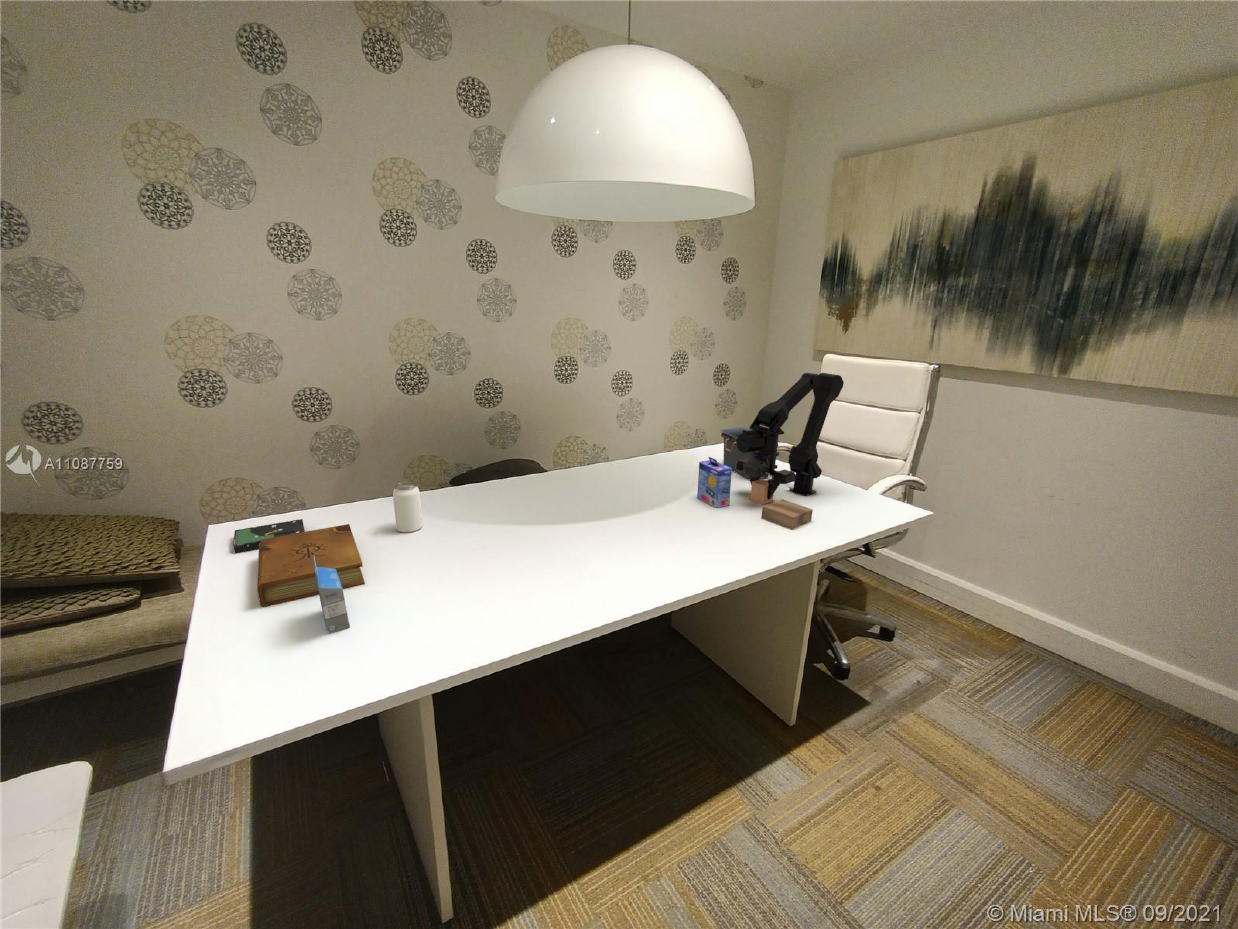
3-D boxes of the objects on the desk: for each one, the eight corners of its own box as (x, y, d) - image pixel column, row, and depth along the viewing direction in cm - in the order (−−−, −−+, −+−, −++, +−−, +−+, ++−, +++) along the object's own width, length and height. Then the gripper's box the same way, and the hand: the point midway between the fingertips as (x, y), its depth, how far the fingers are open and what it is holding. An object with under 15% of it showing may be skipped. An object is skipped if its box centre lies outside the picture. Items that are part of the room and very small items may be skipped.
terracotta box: (759, 496, 172) (761, 478, 171) (772, 501, 169) (775, 483, 167) (750, 499, 169) (752, 481, 168) (763, 504, 166) (765, 486, 164)
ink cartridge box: (695, 498, 169) (698, 454, 165) (709, 495, 172) (712, 452, 168) (715, 508, 161) (719, 462, 157) (729, 505, 164) (734, 460, 160)
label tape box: (350, 628, 99) (342, 569, 96) (325, 635, 97) (316, 574, 93) (343, 605, 106) (335, 549, 103) (320, 611, 104) (311, 554, 100)
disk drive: (303, 528, 142) (235, 539, 134) (302, 518, 141) (233, 529, 133) (307, 542, 133) (234, 556, 126) (305, 532, 133) (232, 545, 125)
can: (427, 528, 142) (423, 485, 139) (403, 535, 138) (399, 491, 134) (415, 521, 146) (411, 479, 143) (392, 528, 142) (387, 485, 138)
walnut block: (780, 511, 161) (782, 499, 160) (810, 522, 154) (812, 509, 153) (761, 519, 155) (762, 506, 154) (791, 531, 148) (793, 517, 147)
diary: (262, 562, 123) (258, 539, 122) (352, 545, 133) (349, 523, 131) (261, 610, 105) (256, 583, 103) (365, 586, 114) (362, 561, 113)
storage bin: (779, 479, 190) (784, 440, 186) (744, 484, 184) (748, 444, 179) (742, 462, 208) (745, 426, 204) (709, 466, 202) (712, 429, 198)
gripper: (726, 445, 166) (722, 493, 171) (776, 460, 152) (770, 511, 157) (749, 441, 173) (744, 486, 177) (799, 454, 159) (793, 503, 164)
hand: (761, 496), depth 169 cm, fingers closed on terracotta box, 5 cm apart
